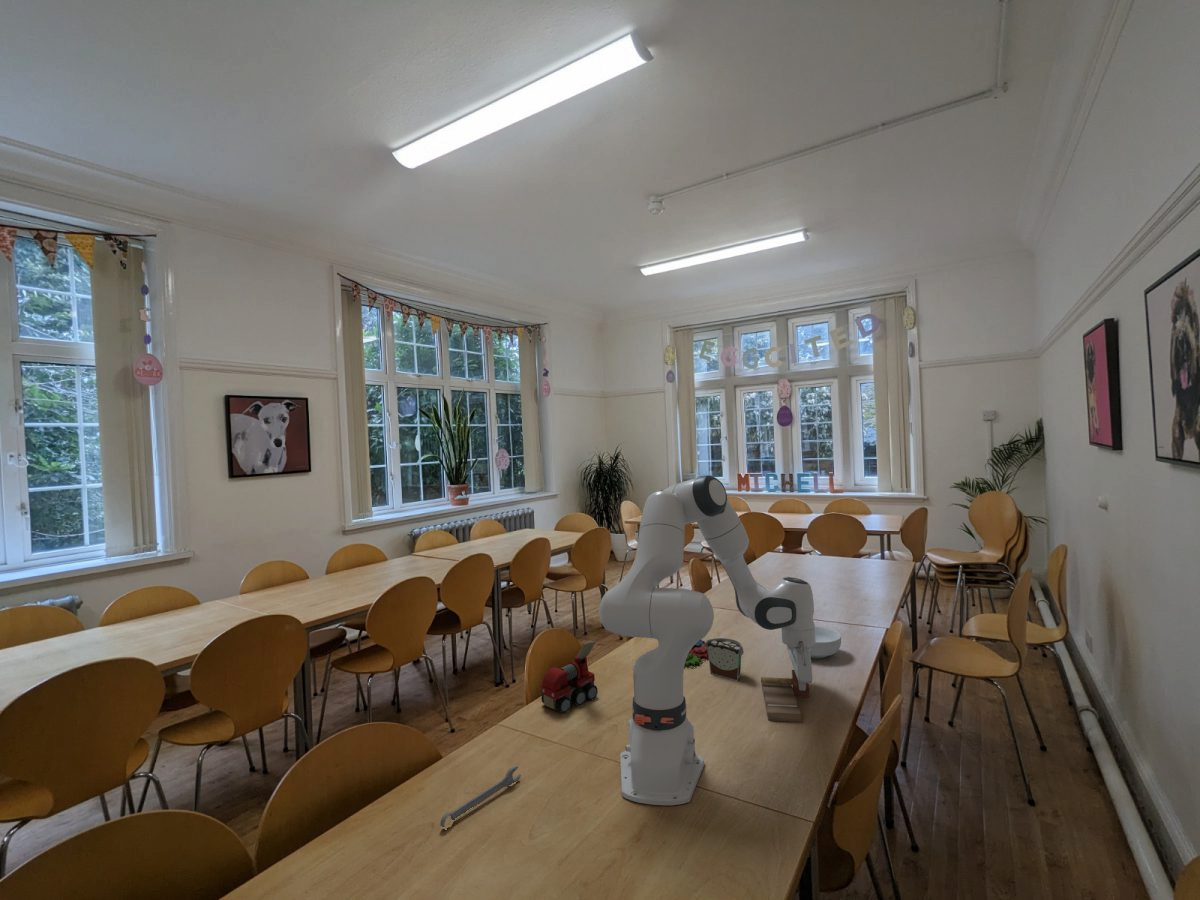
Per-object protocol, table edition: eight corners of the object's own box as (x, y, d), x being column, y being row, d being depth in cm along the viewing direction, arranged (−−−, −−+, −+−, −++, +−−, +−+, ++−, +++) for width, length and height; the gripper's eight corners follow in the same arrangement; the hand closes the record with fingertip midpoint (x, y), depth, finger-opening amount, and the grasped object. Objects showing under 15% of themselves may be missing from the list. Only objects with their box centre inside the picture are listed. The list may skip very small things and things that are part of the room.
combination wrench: (442, 817, 104) (522, 764, 119) (438, 814, 105) (518, 762, 120) (443, 836, 104) (523, 782, 119) (439, 833, 105) (519, 779, 120)
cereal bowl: (826, 668, 171) (825, 645, 171) (778, 655, 183) (777, 633, 183) (851, 653, 182) (850, 631, 182) (804, 641, 195) (803, 621, 195)
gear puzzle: (677, 681, 167) (676, 668, 167) (635, 669, 178) (634, 656, 178) (727, 650, 191) (727, 638, 191) (688, 641, 201) (687, 630, 201)
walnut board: (801, 722, 139) (800, 713, 139) (768, 720, 141) (767, 712, 141) (790, 687, 159) (790, 680, 159) (761, 686, 160) (761, 679, 160)
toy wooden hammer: (809, 697, 152) (808, 675, 152) (761, 694, 155) (760, 673, 155) (807, 691, 156) (806, 670, 156) (761, 688, 159) (760, 668, 159)
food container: (752, 675, 168) (750, 642, 168) (742, 682, 163) (740, 648, 163) (716, 666, 176) (715, 634, 176) (706, 672, 172) (705, 640, 172)
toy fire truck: (539, 707, 154) (536, 643, 154) (580, 688, 164) (578, 629, 164) (565, 720, 146) (562, 653, 145) (607, 699, 156) (604, 637, 156)
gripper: (817, 650, 143) (819, 703, 143) (804, 624, 163) (806, 671, 164) (791, 649, 145) (794, 702, 145) (782, 624, 165) (784, 670, 165)
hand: (800, 685), depth 154 cm, fingers closed on toy wooden hammer, 4 cm apart
